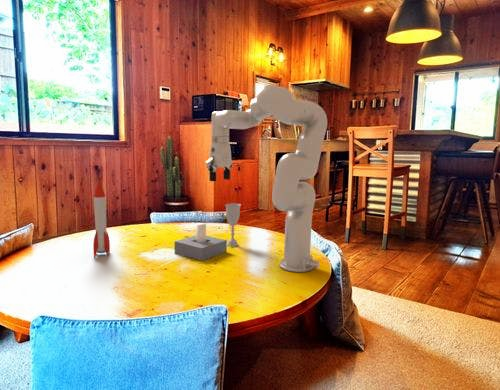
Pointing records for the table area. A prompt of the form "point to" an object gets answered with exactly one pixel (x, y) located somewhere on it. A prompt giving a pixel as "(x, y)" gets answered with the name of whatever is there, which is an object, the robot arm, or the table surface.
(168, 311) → the table surface
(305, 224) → the robot arm
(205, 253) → the socket block
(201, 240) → the peg
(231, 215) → the chalice
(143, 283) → the table surface
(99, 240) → the toy rocket
